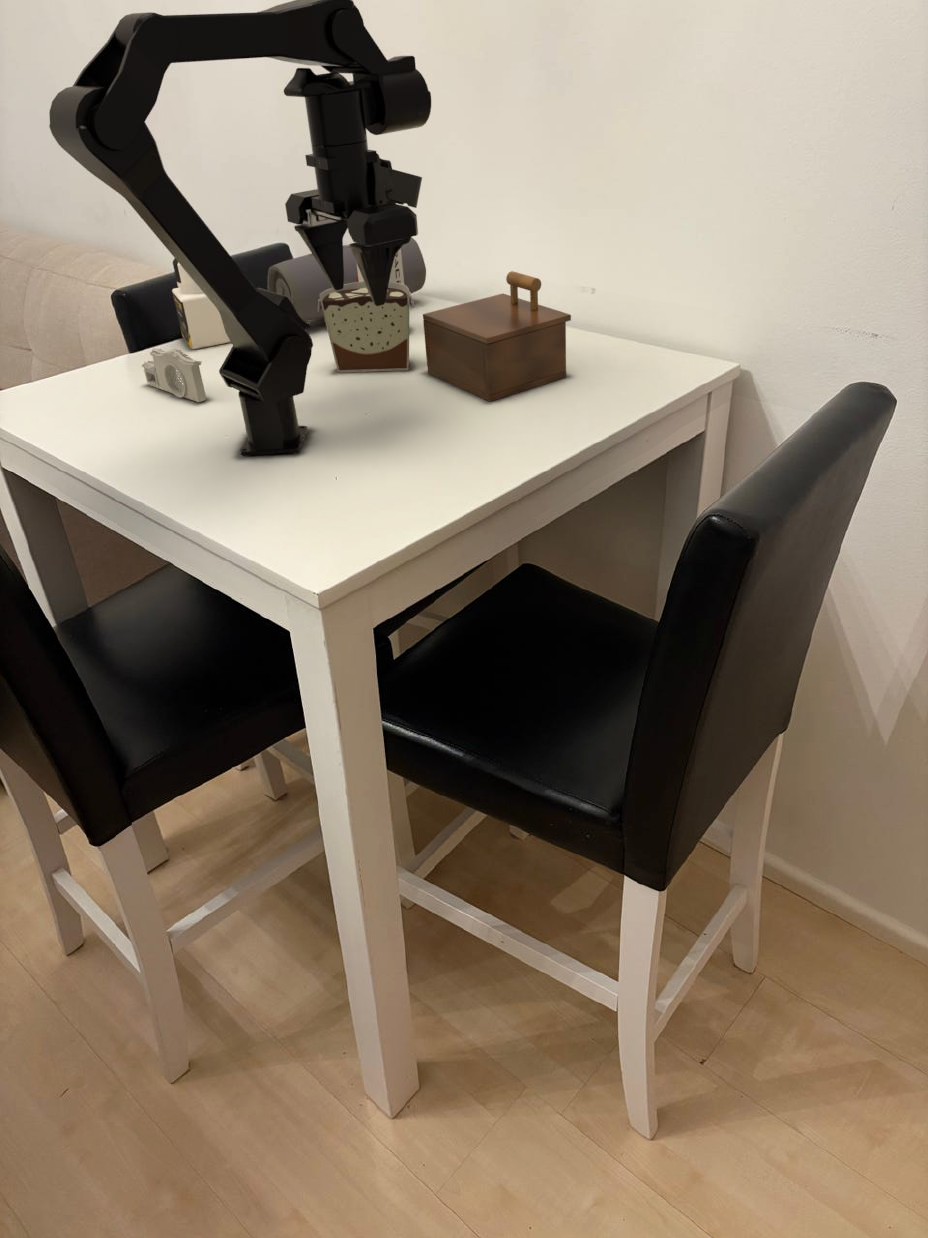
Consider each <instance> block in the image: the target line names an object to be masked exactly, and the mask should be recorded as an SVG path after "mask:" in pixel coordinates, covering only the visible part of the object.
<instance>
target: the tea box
mask: <svg viewBox="0 0 928 1238" xmlns="http://www.w3.org/2000/svg"><path fill="white" fill-rule="evenodd" d="M422 322H423V323H422V324H423V333H424V334H423V335H424V344H425V355H426V367H427V374H429V375H431V376H433V377H435V378H437V379H440V380H442V381H444V382H446V383H448V384H451V385H453V386H454V387H457V388H459V389H462V390H463V391H466V392H468V393H470V394H472V395H475V396H476V397H479V398H481V399H484V400H486V401H488V402H493V401H497V400H500V399H503V398H505V397H509V396H513V395H516V394H518V393H521V392H524V391H527V390H531V389H533V388H536V387H539V386H543V385H547V384H549V383H552V382H555V381H558V380H559V381H560V380H562V379H565V378H567V322H563V323H560V324H556V325H553V326H549V327H546V328H542V329H538V330H535V331H531V332H528V333H524V334H521V335H517V336H514V337H510V338H507V339H503V340H500V341H496V342H493V343H489V344H486V343H483V342H481V341H478V340H475V339H473V338H470V337H467V336H465V335H462V334H460V333H457V332H454V331H452V330H449V329H447V328H444V327H441V326H439V325H436V324H434V323H431V322H428V321H426V320H422Z"/></svg>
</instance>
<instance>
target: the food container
mask: <svg viewBox="0 0 928 1238" xmlns="http://www.w3.org/2000/svg"><path fill="white" fill-rule="evenodd" d="M319 296H320V299H319V300H318V311H320V310H321V309H322V310H323V314H324V318H325V322H326V323H325V326H326V330H327V334H328V337H329V342H330V346H331V350H332V354H333V358H334V362H335V366H336V371H337V373H366V372H367V373H368V372H369V373H370V372H397V371H398V372H400V371H409V370H410V303H411V306H412V309H414V308H415V301H414V298H413V295H412V293H411V292H410V291H409V288H408V287H407V286H406V285H404V284H401V283H397V282H391V281H389V285H388V290H387V295H386V300H385V303H384V305H380V306H375V305H374V303H373V301H372V299H371V296H370V294H369V292H368V290H367V287H366V285H365V282H364V281H363V282H355V283H348V284H344V287H343V289H341V290H334V289H333V288H330V289H327V290H325V291H324V292H322V293H321V294H320V295H319Z"/></svg>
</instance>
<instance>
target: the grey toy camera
mask: <svg viewBox="0 0 928 1238" xmlns="http://www.w3.org/2000/svg"><path fill="white" fill-rule="evenodd" d="M149 355H150V356H152V360H145V361H144V362H143V363H142V364H141V368H143V372H144V376H145V380H146V383H147V384H148V386H151V387H153V388H157V389H158V390H159V389H160V390H162V391H165V392H168V393H171V394H173V395H174V396H175V397H176V398H185V399H187V400H191V401H194V402H197V403H201V402H203V401H206V400H207V395H206V391H205V386H204V382H203V378H202V372H201V369H200V366H202V363H203V361H201V360H195V359H194V358H192V357H190V356H188V354H187V353H184V351H182V350H181V349H174V348H173V349H172V348H171V349H168V350H163V349H162V348H155V347H153V348H152V349H151V351H150V352H149Z"/></svg>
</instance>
